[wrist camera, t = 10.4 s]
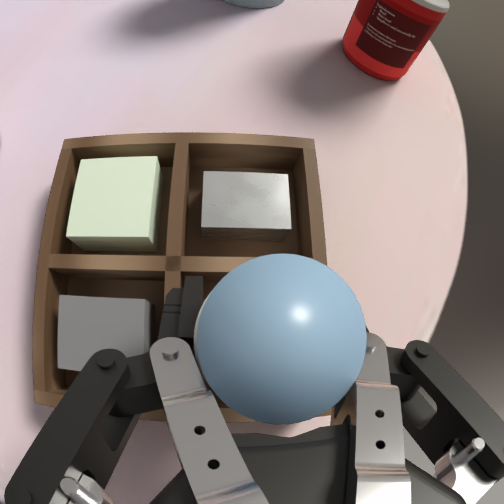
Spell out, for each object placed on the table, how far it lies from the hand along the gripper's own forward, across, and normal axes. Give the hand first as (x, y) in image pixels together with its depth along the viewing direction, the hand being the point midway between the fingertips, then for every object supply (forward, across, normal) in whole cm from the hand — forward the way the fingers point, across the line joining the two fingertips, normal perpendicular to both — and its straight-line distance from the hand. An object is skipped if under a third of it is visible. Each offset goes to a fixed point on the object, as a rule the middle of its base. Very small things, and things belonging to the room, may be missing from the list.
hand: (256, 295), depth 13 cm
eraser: (+3, +8, +6) cm, 10 cm away
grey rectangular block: (+8, 0, 0) cm, 8 cm away
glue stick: (+2, 0, +4) cm, 5 cm away
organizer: (+6, +4, +3) cm, 8 cm away
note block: (+8, +8, 0) cm, 11 cm away
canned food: (+23, -14, -13) cm, 30 cm away
